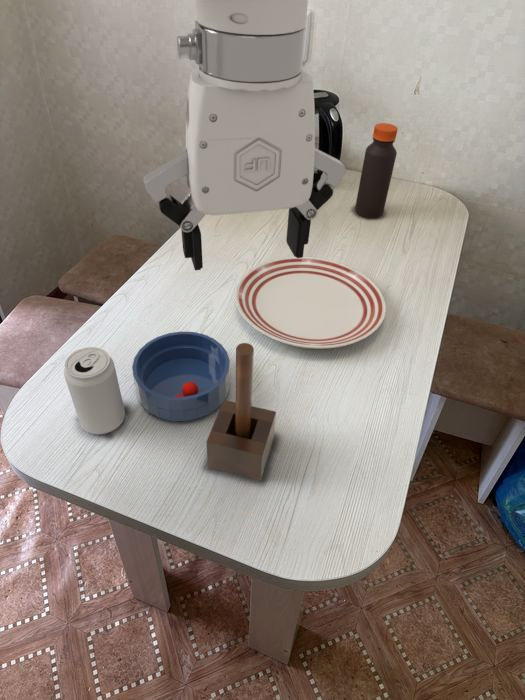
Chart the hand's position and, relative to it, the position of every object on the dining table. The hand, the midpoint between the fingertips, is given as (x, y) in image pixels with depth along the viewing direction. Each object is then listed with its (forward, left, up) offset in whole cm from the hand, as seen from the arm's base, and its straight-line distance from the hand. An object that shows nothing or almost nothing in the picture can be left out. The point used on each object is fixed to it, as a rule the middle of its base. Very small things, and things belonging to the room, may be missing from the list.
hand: (246, 256), depth 48 cm
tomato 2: (-10, +6, -30) cm, 32 cm away
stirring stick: (0, 0, -32) cm, 32 cm away
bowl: (-12, +9, -32) cm, 36 cm away
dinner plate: (+3, +34, -32) cm, 47 cm away
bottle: (+10, +75, -32) cm, 82 cm away
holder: (0, 0, -32) cm, 32 cm away
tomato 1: (-12, +5, -31) cm, 33 cm away
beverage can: (-21, 0, -32) cm, 39 cm away
